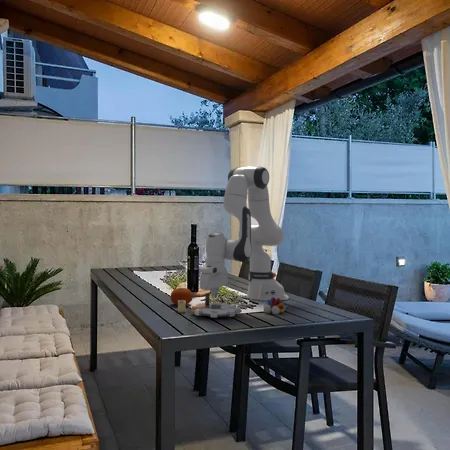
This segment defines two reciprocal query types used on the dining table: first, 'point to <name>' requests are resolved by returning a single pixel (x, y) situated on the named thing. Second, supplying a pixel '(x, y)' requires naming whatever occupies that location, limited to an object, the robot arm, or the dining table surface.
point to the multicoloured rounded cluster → (274, 306)
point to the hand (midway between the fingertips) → (214, 297)
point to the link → (181, 305)
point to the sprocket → (215, 308)
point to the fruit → (181, 295)
